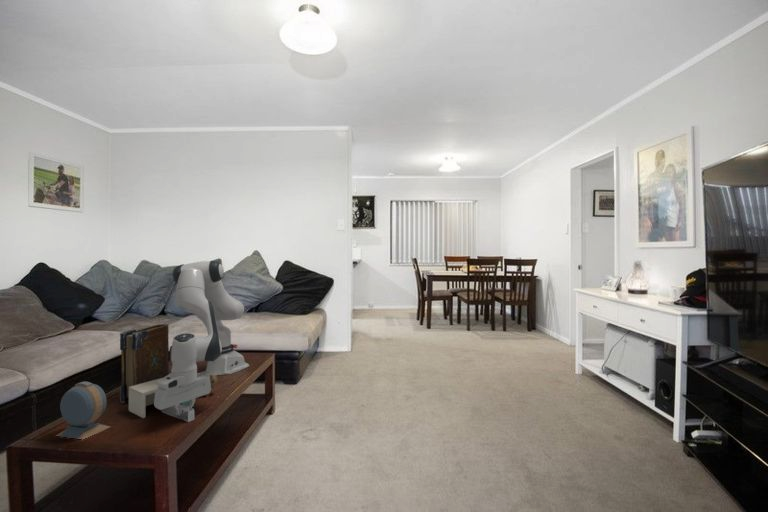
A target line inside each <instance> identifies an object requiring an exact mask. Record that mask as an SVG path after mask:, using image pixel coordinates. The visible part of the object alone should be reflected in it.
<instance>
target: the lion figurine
mask: <svg viewBox="0 0 768 512" xmlns="http://www.w3.org/2000/svg"><path fill="white" fill-rule="evenodd" d="M210 384H211V390H213V388H214V387H215V386H216V385H217V384H218V375H210ZM205 397H206V398H209V397H210V393H209V394H206V395H205Z"/></svg>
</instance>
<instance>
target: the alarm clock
mask: <svg viewBox="0 0 768 512" xmlns="http://www.w3.org/2000/svg"><path fill="white" fill-rule="evenodd" d="M106 407H107V396H106V392H105V391H104V389H103V388H102V387H101V386H100V385H98V384H96V383H95V384H94V383H92V382H90V381H81V382H78V383H75V384H74V386H72V387H71V388H70V389H68V390H67V391H66V392H65V393H64V394H63V395H62V397H61V401H60V404H59V408H60V409H59V410H60V412H61V417H62V418H63V420H64V421H65V422H66V423H67V424H69V426H68V427H67V428H66V429H64V430H63V431H61V432H59V433H57V434H56V435H55V437H56V436H62V437H61V438H63V437H68V438H67V439H69V438H76V439H82V440H81V441H84V440H83V439H85V438H87V439H89V438H91V437H93V436H95V435H98V434H99V433H102V432H103V431H105V430H108V429H109V428H111V426H109V425H106V424H104V423H99V422H96V420H97V419H99V418H100V417H101V416H102V415H103V413H104V412H105V410H106ZM94 434H95V435H94ZM92 435H93V436H92ZM90 436H91V437H90ZM88 437H89V438H88ZM76 439H75V440H76ZM85 440H86V439H85Z"/></svg>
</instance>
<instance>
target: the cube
mask: <svg viewBox="0 0 768 512" xmlns="http://www.w3.org/2000/svg"><path fill="white" fill-rule="evenodd" d="M189 403H190V401H186V402H183V403H180V404H181V405H184V406H188V405H189ZM194 404H195V403H194ZM194 404H193V407H195V405H194Z"/></svg>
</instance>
